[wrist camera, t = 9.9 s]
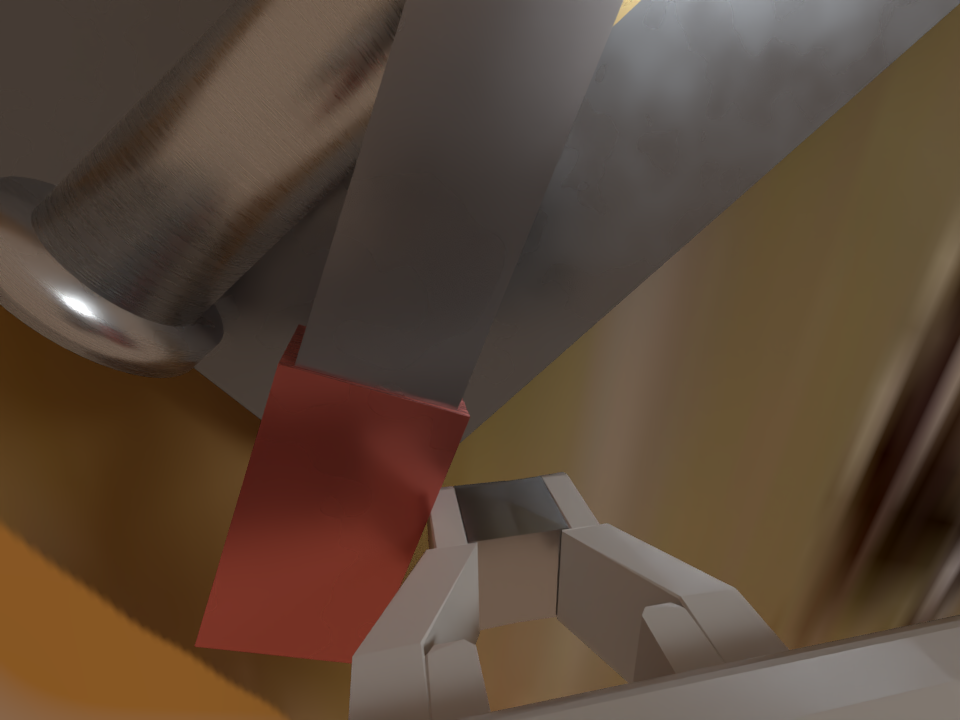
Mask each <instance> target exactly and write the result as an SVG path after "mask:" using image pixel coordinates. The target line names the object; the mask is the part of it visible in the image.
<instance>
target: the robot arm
mask: <svg viewBox="0 0 960 720" xmlns="http://www.w3.org/2000/svg"><path fill="white" fill-rule="evenodd" d="M427 527H428V543H429V550H426V551H425V553H424V554H423V555H422V557H421V558H420V560H419V561H418V563H417V564H416V565H415V567H414V568H413V570H412V571H411V573H410V574H409V576H408V577H407V578H406V580H405V581H404V583H403V584H402V586H401V587H400V589H399V590H398V591H397V593H396V594H395V596H394V597H393V599H392V600H391V602H390V603H389V604H388V606H387V607H386V609H385V610H384V612H383V613H382V615H381V616H380V617H379V619H378V620H377V622H376V623H375V625H374V626H373V628H372V629H371V630H370V632H369V633H368V635H367V636H366V638H365V639H364V641H363V642H362V643H361V645H360V646H359V648H358V649H357V651H356V652H355V654H354V655H353V656H352V671H351V688H350V705H349V720H960V615H957V616H952V617H947V618H942V619H937V620H933V621H928V622H923V623H918V624H913V625H908V626H904V627H899V628H894V629H889V630H885V631H880V632H875V633H870V634H865V635H861V636H856V637H851V638H846V639H841V640H837V641H832V642H827V643H822V644H817V645H812V646H808V647H803V648H798V649H793V650H789V649H788V648H787V647H786V646H785V644H784V643H783V642H782V641H781V640H780V639H779V638H778V636H777V635H776V634H775V633H774V632H773V631H772V629H771V628H770V627H769V626H768V625H767V624H766V623H765V621H764V620H763V619H762V618H761V617H760V616H759V614H758V613H757V612H756V611H755V610H754V609H753V608H752V606H751V605H750V604H749V603H748V602H747V601H746V599H745V598H744V597H743V596H742V595H741V594H740V593H739V591H738V590H737V589H736V588H734V587H732V586H730V585H728V584H726V583H724V582H722V581H720V580H718V579H716V578H714V577H712V576H710V575H708V574H706V573H704V572H702V571H700V570H698V569H696V568H694V567H692V566H690V565H688V564H686V563H684V562H682V561H680V560H678V559H676V558H675V557H673V556H671V555H669V554H667V553H665V552H663V551H661V550H659V549H657V548H655V547H653V546H651V545H649V544H647V543H645V542H643V541H641V540H639V539H637V538H635V537H633V536H631V535H629V534H627V533H625V532H623V531H621V530H619V529H617V528H615V527H613V526H611V525H610V524H608V523H607V524H599V522H598V521H597V519H596V518H595V516H594V515H593V513H592V512H591V510H590V509H589V507H588V505H587V504H586V502H585V501H584V499H583V498H582V496H581V495H580V493H579V492H578V490H577V489H576V487H575V485H574V484H573V482H572V481H571V479H570V478H569V476H568V475H567V474H566V473H564V472H560V473H554V474H548V475H541V476H538V477H532V478H525V479H518V480H510V481H499V482H489V483H480V484H470V485H460V486H453V487H452V486H450V487H442V488H441V489H440V491H439V494H438V496H437V498H436V501H435V503H434V506H433V508H432V510H431V513H430V515H429V518H428V520H427ZM550 617H557V619H558V620H559V621H560V622H561V623H562V624H563V625H564V626H565V627H567V628H568V629H569V630H570V631H571V632H572V633H573V634H574V635H576V636H577V637H578V638H579V639H580V640H581V641H582V642H583V643H584V644H586V645H587V646H588V647H589V648H590V649H591V650H592V651H593V652H595V653H596V654H597V655H598V656H599V657H600V658H601V659H602V660H603V661H605V662H606V663H607V664H608V665H609V666H610V667H611V668H612V669H614V670H615V671H616V672H617V673H618V674H619V675H620V676H621V677H622V678H624V679H625V680H626V681H627V682H628V684H624V685H619V686H614V687H609V688H604V689H600V690H595V691H590V692H585V693H580V694H575V695H571V696H566V697H561V698H556V699H551V700H547V701H542V702H537V703H532V704H527V705H523V706H518V707H513V708H508V709H503V710H498V711H494V712H490V707H489V703H488V698H487V693H486V689H485V684H484V680H483V675H482V671H481V666H480V662H479V657H478V653H477V648H476V645H475V644H476V642H477V639H478V636H479V634H480V630H483V629H488V628H492V627H497V626H502V625H507V624H512V623H517V622H523V621H530V620H537V619H543V618H550Z"/></svg>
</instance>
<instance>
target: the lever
mask: <svg viewBox="0 0 960 720" xmlns="http://www.w3.org/2000/svg"><path fill="white" fill-rule="evenodd" d="M622 3H623V0H406V2H405V5H404V8H403V11H402V15H401V18H400V21H399V24H398V28H397V31H396V34H395V38H394V41H393V44H392V47H391V51H390V54H389V57H388V61H387V64H386V67H385V70H384V74H383V77H382V80H381V84H380V87H379V90H378V93H377V97H376V100H375V103H374V106H373V110H372V113H371V116H370V120H369V123H368V126H367V129H366V133H365V136H364V139H363V143H362V146H361V149H360V152H359V156H358V159H357V162H356V166H355V169H354V172H353V175H352V179H351V182H350V185H349V188H348V192H347V195H346V198H345V202H344V205H343V208H342V211H341V215H340V218H339V221H338V225H337V228H336V231H335V234H334V238H333V241H332V244H331V247H330V251H329V254H328V257H327V261H326V264H325V267H324V270H323V274H322V277H321V280H320V284H319V287H318V290H317V293H316V297H315V300H314V303H313V307H312V310H311V313H310V316H309V320H308V323H307V326H304V325H301V324H299V325H298V327H297V329H296V331H295V333H294V334H293V336H292V338H291V340H290V342H289V344H288V346H287V348H286V350H285V352H284V354H283V355H282V357H281V359H280V361H279V363H278V366H277V369H276V373H275V376H274V379H273V383H272V386H271V390H270V393H269V396H268V400H267V403H266V406H265V410H264V413H263V417H262V420H261V423H260V427H259V430H258V434H257V437H256V440H255V444H254V447H253V450H252V454H251V457H250V461H249V464H248V467H247V471H246V474H245V478H244V481H243V484H242V488H241V491H240V494H239V498H238V501H237V505H236V508H235V511H234V515H233V518H232V522H231V525H230V528H229V532H228V535H227V538H226V542H225V545H224V549H223V552H222V555H221V559H220V562H219V565H218V569H217V572H216V576H215V579H214V582H213V586H212V589H211V593H210V596H209V599H208V603H207V606H206V609H205V613H204V616H203V620H202V623H201V626H200V630H199V633H198V637H197V640H196V643H195V647H203V648H212V649H222V650H231V651H240V652H250V653H259V654H268V655H278V656H287V657H296V658H306V659H315V660H324V661H334V662H343V663H352V656H353V655H354V654H355V652H356V651H357V649H358V648H359V646H360V645H361V643H362V642H363V641H364V639H365V638H366V636H367V635H368V633H369V632H370V630H371V629H372V628H373V626H374V625H375V623H376V622H377V620H378V619H379V617H380V616H381V615H382V613H383V612H384V610H385V609H386V607H387V606H388V604H389V603H390V602H391V600H392V599H393V597H394V596H395V594H396V593H397V591H398V590H399V588H400V585H401V583H402V580H403V578H404V576H405V573H406V571H407V568H408V566H409V564H410V561H411V559H412V556H413V554H414V551H415V549H416V547H417V544H418V542H419V539H420V537H421V535H422V532H423V530H424V527H425V525H426V523H427V520H428V518H429V515H430V513H431V510H432V508H433V506H434V503H435V501H436V498H437V496H438V494H439V491H440V489H441V486H442V484H443V482H444V479H445V477H446V474H447V472H448V469H449V467H450V465H451V462H452V460H453V457H454V455H455V453H456V450H457V448H458V445H459V443H460V441H461V438H462V436H463V433H464V431H465V429H466V426H467V424H468V421H469V419H470V415H469V413H468V411H467V408H466V406H465V403H464V401H463V398H462V397H463V395H464V392H465V390H466V387H467V385H468V382H469V380H470V377H471V375H472V372H473V370H474V367H475V365H476V363H477V360H478V358H479V355H480V353H481V350H482V348H483V345H484V343H485V340H486V338H487V335H488V333H489V331H490V328H491V326H492V323H493V321H494V318H495V316H496V313H497V311H498V308H499V306H500V303H501V301H502V298H503V296H504V294H505V291H506V289H507V286H508V284H509V281H510V279H511V276H512V274H513V271H514V269H515V266H516V264H517V261H518V259H519V257H520V254H521V252H522V249H523V247H524V244H525V242H526V239H527V237H528V234H529V232H530V229H531V227H532V225H533V222H534V220H535V217H536V215H537V212H538V210H539V207H540V205H541V202H542V200H543V197H544V195H545V192H546V190H547V188H548V185H549V183H550V180H551V178H552V175H553V173H554V170H555V168H556V165H557V163H558V160H559V158H560V155H561V153H562V151H563V148H564V146H565V143H566V141H567V138H568V136H569V133H570V131H571V128H572V126H573V123H574V121H575V119H576V116H577V114H578V111H579V109H580V106H581V104H582V101H583V99H584V96H585V94H586V91H587V89H588V86H589V84H590V82H591V79H592V77H593V74H594V72H595V69H596V67H597V64H598V62H599V59H600V57H601V54H602V52H603V49H604V47H605V45H606V42H607V40H608V37H609V35H610V32H611V30H612V27H613V25H614V22H615V20H616V17H617V15H618V13H619V10H620V8H621V5H622Z"/></svg>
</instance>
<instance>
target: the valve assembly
mask: <svg viewBox="0 0 960 720" xmlns="http://www.w3.org/2000/svg"><path fill="white" fill-rule="evenodd" d="M405 2H406V0H0V305H2V306H3V307H4V308H5V309H6V310H7V311H9V312H10V313H11V314H13V315H14V316H15V317H17V318H18V319H19V320H21V321H22V322H23V323H25V324H26V325H27V326H29V327H31V328H32V329H34V330H35V331H37V332H38V333H40V334H41V335H43V336H44V337H46V338H48V339H49V340H51V341H53V342H55V343H56V344H58V345H60V346H62V347H64V348H66V349H68V350H70V351H72V352H74V353H76V354H78V355H80V356H82V357H84V358H86V359H89V360H91V361H94V362H96V363H98V364H101V365H104V366H107V367H110V368H112V369H115V370H118V371H122V372H126V373H130V374H134V375H140V376H145V377H156V378H168V377H175V376H180V375H183V374H185V373H187V372H189V371H190V370H191V369H193V368H195V369H196V370H197V371H199V372H200V373H201V374H202V375H204V376H205V377H206V378H208V379H209V380H210V381H212V382H213V383H214V384H215V385H217V386H218V387H219V388H221V389H222V390H223V391H224V392H226V393H227V394H228V395H230V396H231V397H232V398H234V399H235V400H236V401H237V402H239V403H240V404H241V405H243V406H244V407H245V408H247V409H248V410H249V411H250V412H252V413H253V414H254V415H256V416H257V417H258V418H259V419H261V420H262V417H263V413H264V410H265V406H266V403H267V400H268V396H269V393H270V390H271V386H272V383H273V379H274V376H275V373H276V369H277V366H278V363H279V361H280V359H281V357H282V355H283V354H284V352H285V350H286V348H287V346H288V344H289V342H290V340H291V338H292V336H293V334H294V333H295V331H296V329H297V327H298V325H299V324H301V325H304V326H307V323H308V320H309V316H310V313H311V310H312V307H313V303H314V300H315V297H316V293H317V290H318V287H319V284H320V280H321V277H322V274H323V270H324V267H325V264H326V261H327V257H328V254H329V251H330V247H331V244H332V241H333V238H334V234H335V231H336V228H337V225H338V221H339V218H340V215H341V211H342V208H343V205H344V202H345V198H346V195H347V192H348V188H349V185H350V182H351V179H352V175H353V172H354V169H355V166H356V162H357V159H358V156H359V152H360V149H361V146H362V143H363V139H364V136H365V133H366V129H367V126H368V123H369V120H370V116H371V113H372V110H373V106H374V103H375V100H376V97H377V93H378V90H379V87H380V84H381V80H382V77H383V74H384V70H385V67H386V64H387V61H388V57H389V54H390V51H391V47H392V44H393V41H394V38H395V34H396V31H397V28H398V24H399V21H400V18H401V15H402V11H403V8H404V5H405ZM959 3H960V0H623V3H622V5H621V8H620V10H619V13H618V15H617V17H616V20H615V22H614V25H613V27H612V30H611V32H610V35H609V37H608V40H607V42H606V45H605V47H604V49H603V52H602V54H601V57H600V59H599V62H598V64H597V67H596V69H595V72H594V74H593V77H592V79H591V82H590V84H589V86H588V89H587V91H586V94H585V96H584V99H583V101H582V104H581V106H580V109H579V111H578V114H577V116H576V119H575V121H574V123H573V126H572V128H571V131H570V133H569V136H568V138H567V141H566V143H565V146H564V148H563V151H562V153H561V155H560V158H559V160H558V163H557V165H556V168H555V170H554V173H553V175H552V178H551V180H550V183H549V185H548V188H547V190H546V192H545V195H544V197H543V200H542V202H541V205H540V207H539V210H538V212H537V215H536V217H535V220H534V222H533V225H532V227H531V229H530V232H529V234H528V237H527V239H526V242H525V244H524V247H523V249H522V252H521V254H520V257H519V259H518V261H517V264H516V266H515V269H514V271H513V274H512V276H511V279H510V281H509V284H508V286H507V289H506V291H505V294H504V296H503V298H502V301H501V303H500V306H499V308H498V311H497V313H496V316H495V318H494V321H493V323H492V326H491V328H490V331H489V333H488V335H487V338H486V340H485V343H484V345H483V348H482V350H481V353H480V355H479V358H478V360H477V363H476V365H475V367H474V370H473V372H472V375H471V377H470V380H469V382H468V385H467V387H466V390H465V392H464V395H463V397H462V398H463V401H464V403H465V406H466V408H467V411H468V413H469V415H470V419H469V421H468V424H467V426H466V429H465V431H464V433H463V436H462V438H461V441H460V443H461V442H462V441H463V440H464V439H465V438H466V437H467V436H469V435H470V434H471V433H472V432H473V431H474V430H475V429H477V428H478V427H479V426H480V425H481V424H482V423H483V422H484V421H486V420H487V419H488V418H489V417H490V416H491V415H492V414H494V413H495V412H496V411H497V410H498V409H499V408H500V407H502V406H503V405H504V404H505V403H506V402H507V401H508V400H509V399H511V398H512V397H513V396H514V395H515V394H516V393H517V392H519V391H520V390H521V389H522V388H523V387H524V386H525V385H527V384H528V383H529V382H530V381H531V380H532V379H533V378H534V377H536V376H537V375H538V374H539V373H540V372H541V371H542V370H544V369H545V368H546V367H547V366H548V365H549V364H550V363H551V362H553V361H554V360H555V359H556V358H557V357H558V356H559V355H561V354H562V353H563V352H564V351H565V350H566V349H567V348H569V347H570V346H571V345H572V344H573V343H574V342H575V341H576V340H578V339H579V338H580V337H581V336H582V335H583V334H584V333H586V332H587V331H588V330H589V329H590V328H591V327H592V326H594V325H595V324H596V323H597V322H598V321H599V320H600V319H601V318H603V317H604V316H605V315H606V314H607V313H608V312H609V311H611V310H612V309H613V308H614V307H615V306H616V305H617V304H619V303H620V302H621V301H622V300H623V299H624V298H625V297H626V296H628V295H629V294H630V293H631V292H632V291H633V290H634V289H636V288H637V287H638V286H639V285H640V284H641V283H642V282H644V281H645V280H646V279H647V278H648V277H649V276H650V275H651V274H653V273H654V272H655V271H656V270H657V269H658V268H659V267H661V266H662V265H663V264H664V263H665V262H666V261H667V260H669V259H670V258H671V257H672V256H673V255H674V254H675V253H676V252H678V251H679V250H680V249H681V248H682V247H683V246H684V245H686V244H687V243H688V242H689V241H690V240H691V239H692V238H694V237H695V236H696V235H697V234H698V233H699V232H700V231H701V230H703V229H704V228H705V227H706V226H707V225H708V224H709V223H711V222H712V221H713V220H714V219H715V218H716V217H717V216H719V215H720V214H721V213H722V212H723V211H724V210H725V209H726V208H728V207H729V206H730V205H731V204H732V203H733V202H734V201H736V200H737V199H738V198H739V197H740V196H741V195H742V194H744V193H745V192H746V191H747V190H748V189H749V188H750V187H751V186H753V185H754V184H755V183H756V182H757V181H758V180H759V179H761V178H762V177H763V176H764V175H765V174H766V173H767V172H769V171H770V170H771V169H772V168H773V167H774V166H775V165H776V164H778V163H779V162H780V161H781V160H782V159H783V158H784V157H786V156H787V155H788V154H789V153H790V152H791V151H792V150H794V149H795V148H796V147H797V146H798V145H799V144H800V143H801V142H803V141H804V140H805V139H806V138H807V137H808V136H809V135H811V134H812V133H813V132H814V131H815V130H816V129H817V128H819V127H820V126H821V125H822V124H823V123H824V122H825V121H826V120H828V119H829V118H830V117H831V116H832V115H833V114H834V113H836V112H837V111H838V110H839V109H840V108H841V107H842V106H844V105H845V104H846V103H847V102H848V101H849V100H850V99H851V98H853V97H854V96H855V95H856V94H857V93H858V92H859V91H861V90H862V89H863V88H864V87H865V86H866V85H867V84H868V83H870V82H871V81H872V80H873V79H874V78H875V77H876V76H878V75H879V74H880V73H881V72H882V71H883V70H884V69H886V68H887V67H888V66H889V65H890V64H891V63H892V62H893V61H895V60H896V59H897V58H898V57H899V56H900V55H901V54H903V53H904V52H905V51H906V50H907V49H908V48H909V47H911V46H912V45H913V44H914V43H915V42H916V41H917V40H918V39H920V38H921V37H922V36H923V35H924V34H925V33H926V32H928V31H929V30H930V29H931V28H932V27H933V26H934V25H936V24H937V23H938V22H939V21H940V20H941V19H942V18H943V17H945V16H946V15H947V14H948V13H949V12H950V11H951V10H953V9H954V8H955V7H956V6H957V5H958V4H959Z"/></svg>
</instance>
